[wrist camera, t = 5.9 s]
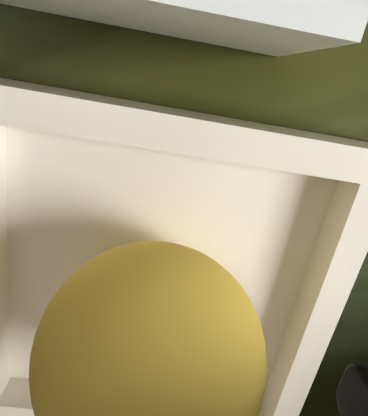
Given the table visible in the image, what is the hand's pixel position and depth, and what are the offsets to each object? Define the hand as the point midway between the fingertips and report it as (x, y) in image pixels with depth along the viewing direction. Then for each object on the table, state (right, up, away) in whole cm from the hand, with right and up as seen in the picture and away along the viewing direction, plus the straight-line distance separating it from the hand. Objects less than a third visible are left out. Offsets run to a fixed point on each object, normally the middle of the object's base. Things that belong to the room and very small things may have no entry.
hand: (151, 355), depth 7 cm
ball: (0, +1, +2) cm, 3 cm away
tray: (0, +1, +3) cm, 3 cm away
